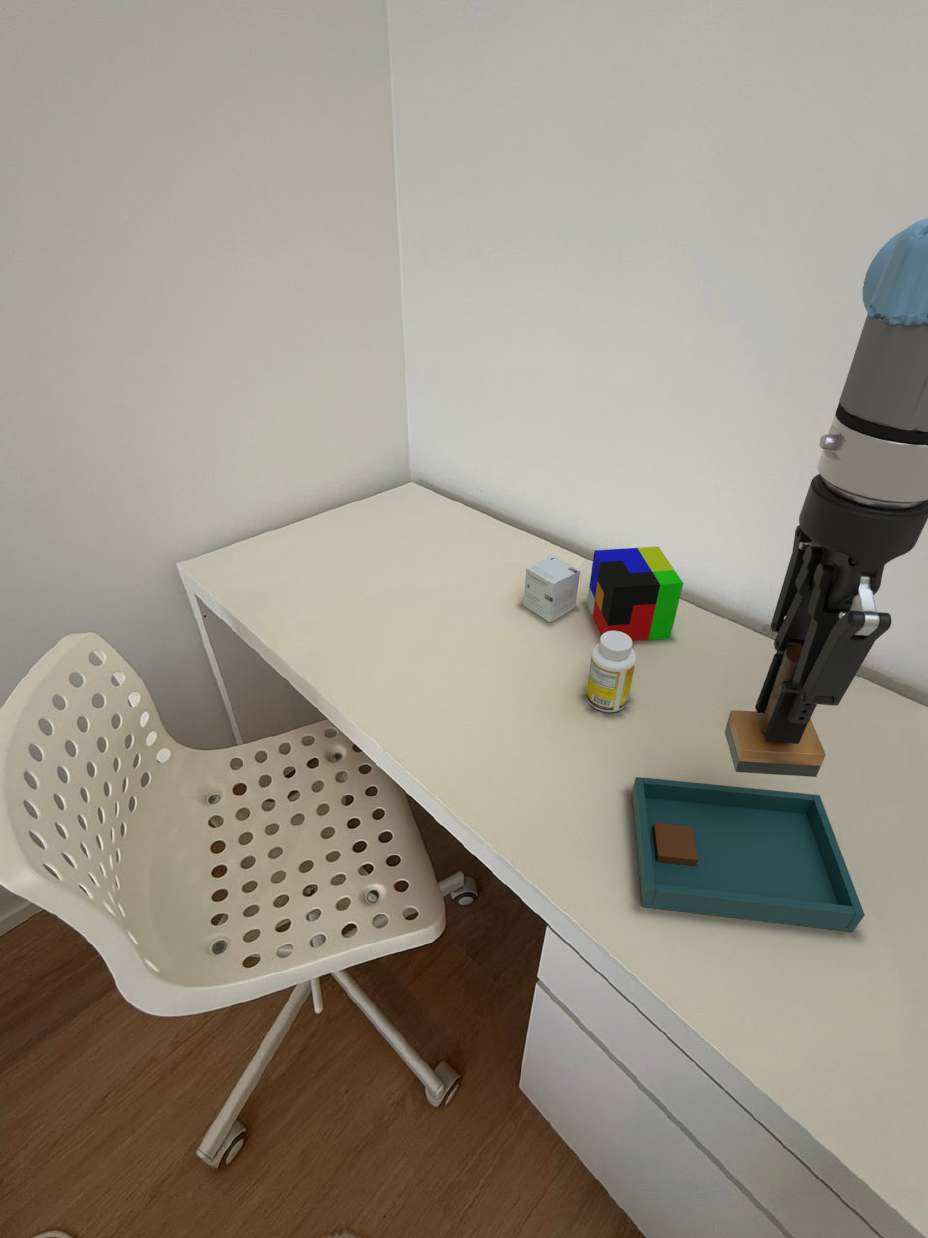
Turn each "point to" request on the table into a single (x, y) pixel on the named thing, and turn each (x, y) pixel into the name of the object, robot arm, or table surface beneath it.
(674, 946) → the table surface
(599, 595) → the puzzle toy
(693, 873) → the tray
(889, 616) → the robot arm
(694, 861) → the brown square tile
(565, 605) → the white cardboard box
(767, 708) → the wooden rubber stamp
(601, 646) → the supplement bottle
